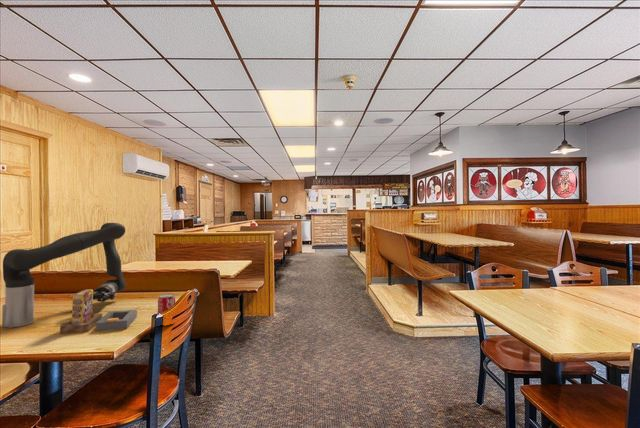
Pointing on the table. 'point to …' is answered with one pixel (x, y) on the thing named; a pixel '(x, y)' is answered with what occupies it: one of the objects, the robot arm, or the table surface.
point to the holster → (80, 325)
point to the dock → (116, 320)
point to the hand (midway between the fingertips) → (92, 300)
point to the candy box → (82, 306)
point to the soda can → (165, 302)
